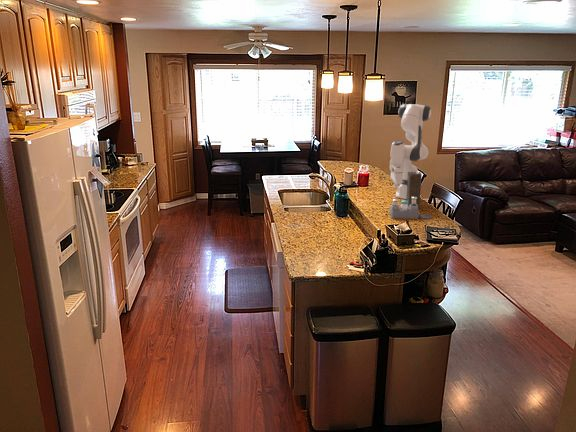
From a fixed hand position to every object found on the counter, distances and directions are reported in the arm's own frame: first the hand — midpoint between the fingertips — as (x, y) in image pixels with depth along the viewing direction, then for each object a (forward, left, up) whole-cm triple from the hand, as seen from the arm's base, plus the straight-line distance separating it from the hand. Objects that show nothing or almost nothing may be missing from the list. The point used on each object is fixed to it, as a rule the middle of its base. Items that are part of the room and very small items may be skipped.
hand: (395, 188), depth 296 cm
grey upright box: (-23, +17, -19) cm, 34 cm away
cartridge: (0, +6, -19) cm, 20 cm away
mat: (+3, +19, -19) cm, 27 cm away
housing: (0, +6, -19) cm, 20 cm away
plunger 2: (0, +12, -12) cm, 17 cm away
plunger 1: (0, 0, -13) cm, 13 cm away
